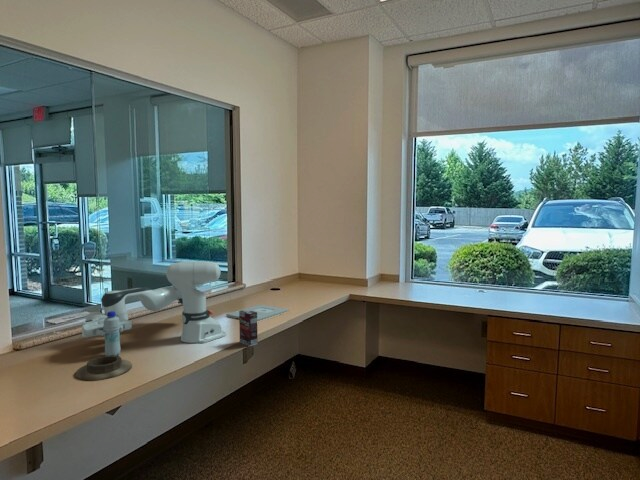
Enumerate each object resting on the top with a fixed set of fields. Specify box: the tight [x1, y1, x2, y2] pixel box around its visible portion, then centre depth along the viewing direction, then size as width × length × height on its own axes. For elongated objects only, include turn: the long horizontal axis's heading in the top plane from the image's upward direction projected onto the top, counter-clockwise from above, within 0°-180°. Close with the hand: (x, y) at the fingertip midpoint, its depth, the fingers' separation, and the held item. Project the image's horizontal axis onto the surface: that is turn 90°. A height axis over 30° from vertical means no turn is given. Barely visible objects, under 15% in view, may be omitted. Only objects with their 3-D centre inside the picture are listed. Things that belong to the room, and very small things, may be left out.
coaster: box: [75, 355, 133, 382], centre depth 167 cm, size 20×20×4 cm
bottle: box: [103, 311, 122, 356], centre depth 184 cm, size 7×7×20 cm
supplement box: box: [238, 308, 258, 347], centre depth 200 cm, size 9×5×16 cm, turn 47°
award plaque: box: [225, 304, 290, 321], centre depth 257 cm, size 25×30×2 cm
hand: (112, 331), depth 183 cm, fingers closed on bottle, 6 cm apart
